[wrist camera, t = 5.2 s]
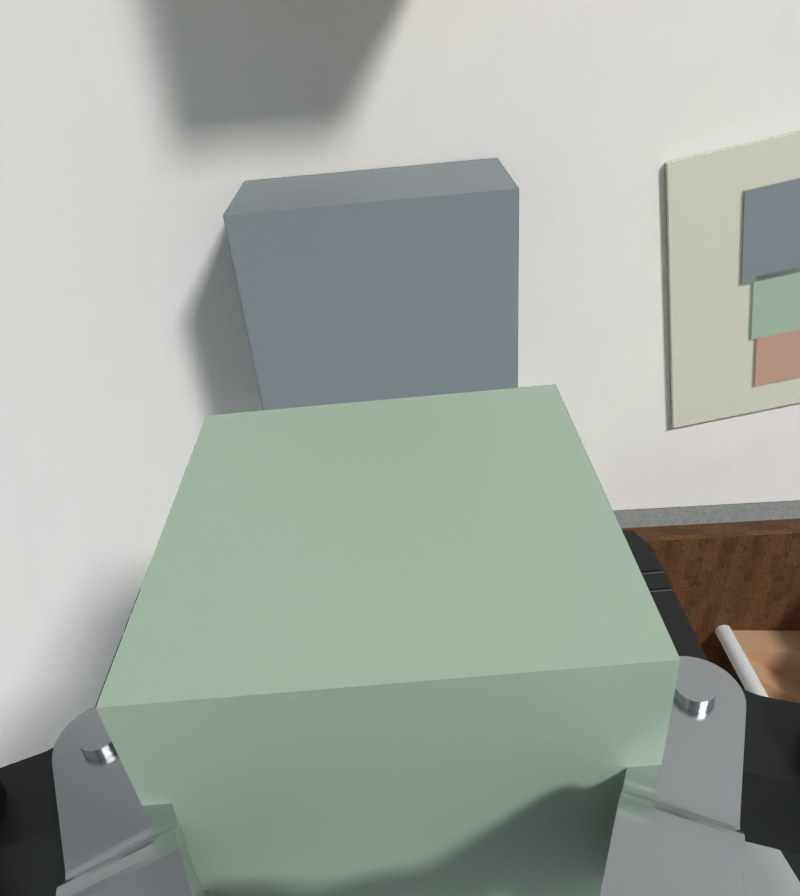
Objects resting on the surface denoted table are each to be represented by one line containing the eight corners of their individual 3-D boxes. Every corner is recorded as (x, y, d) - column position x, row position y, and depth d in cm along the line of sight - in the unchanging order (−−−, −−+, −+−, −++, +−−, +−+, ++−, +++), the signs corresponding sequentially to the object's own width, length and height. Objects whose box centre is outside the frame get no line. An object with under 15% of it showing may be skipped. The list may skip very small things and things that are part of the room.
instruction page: (665, 162, 23) (668, 164, 23) (927, 101, 23) (933, 102, 22) (671, 425, 29) (674, 429, 28) (884, 382, 28) (888, 385, 28)
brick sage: (206, 415, 13) (95, 707, 8) (555, 384, 12) (681, 660, 7) (268, 655, 16) (221, 970, 11) (546, 631, 16) (630, 941, 11)
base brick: (244, 180, 23) (223, 215, 20) (497, 158, 23) (519, 188, 20) (285, 401, 27) (274, 461, 24) (499, 383, 27) (517, 440, 24)
